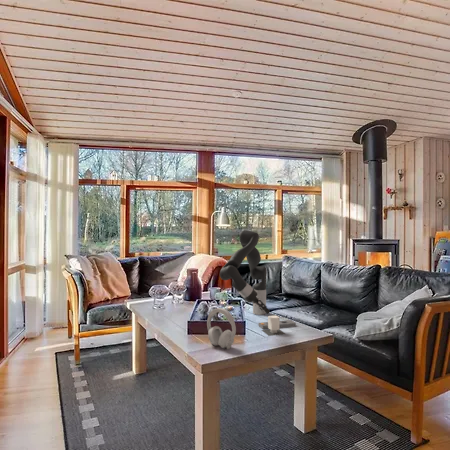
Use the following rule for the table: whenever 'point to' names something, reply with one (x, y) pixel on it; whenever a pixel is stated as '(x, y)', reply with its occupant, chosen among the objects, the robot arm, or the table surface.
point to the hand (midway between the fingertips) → (266, 311)
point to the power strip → (281, 324)
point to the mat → (273, 333)
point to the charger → (273, 323)
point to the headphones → (216, 333)
